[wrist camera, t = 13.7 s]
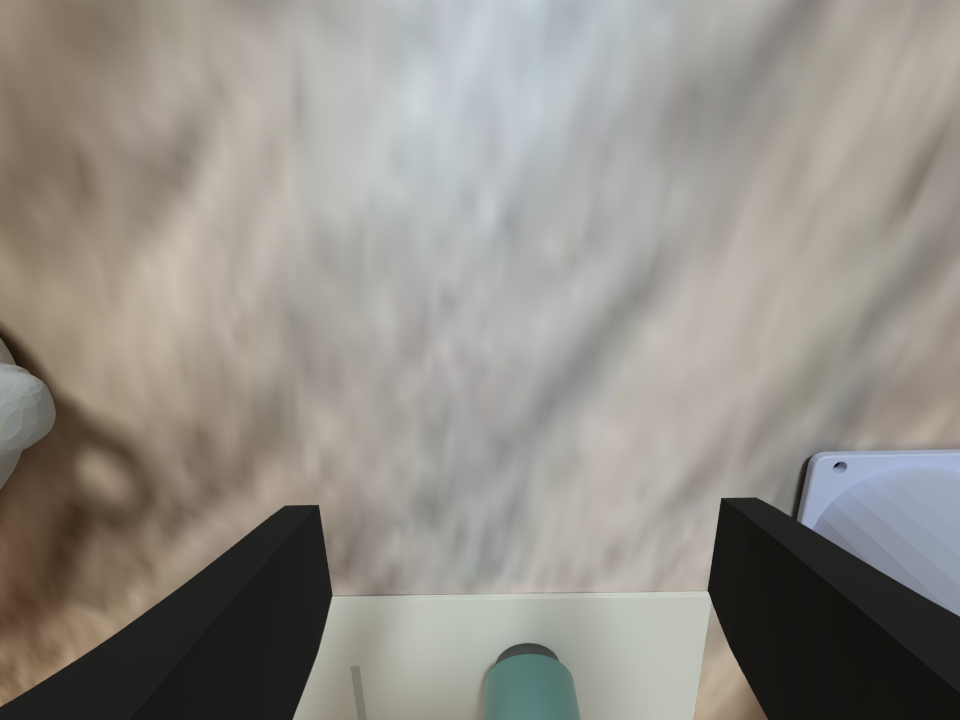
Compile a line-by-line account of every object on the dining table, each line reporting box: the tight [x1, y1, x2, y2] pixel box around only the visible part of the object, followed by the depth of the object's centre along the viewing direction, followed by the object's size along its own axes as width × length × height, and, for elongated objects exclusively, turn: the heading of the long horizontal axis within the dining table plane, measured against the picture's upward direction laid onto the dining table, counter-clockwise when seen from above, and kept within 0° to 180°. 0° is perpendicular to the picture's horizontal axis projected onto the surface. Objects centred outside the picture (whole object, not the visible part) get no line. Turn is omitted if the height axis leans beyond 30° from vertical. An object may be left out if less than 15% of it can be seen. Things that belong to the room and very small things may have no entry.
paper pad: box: [293, 591, 711, 720], centre depth 25 cm, size 20×14×1 cm
